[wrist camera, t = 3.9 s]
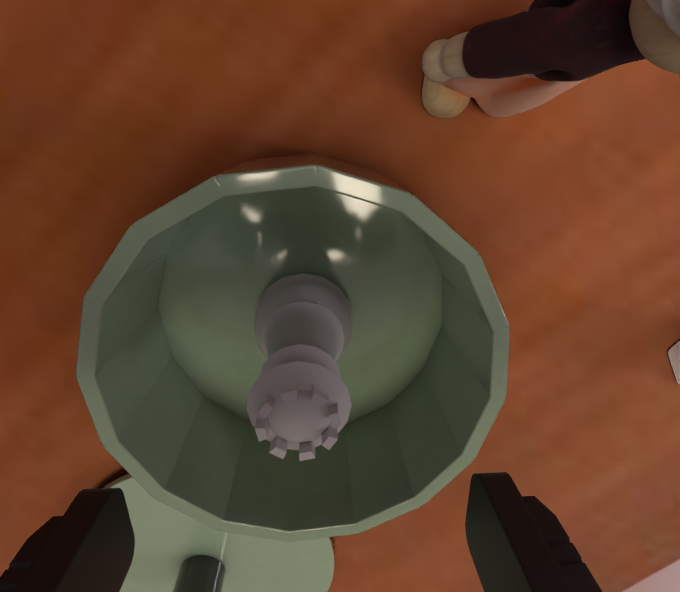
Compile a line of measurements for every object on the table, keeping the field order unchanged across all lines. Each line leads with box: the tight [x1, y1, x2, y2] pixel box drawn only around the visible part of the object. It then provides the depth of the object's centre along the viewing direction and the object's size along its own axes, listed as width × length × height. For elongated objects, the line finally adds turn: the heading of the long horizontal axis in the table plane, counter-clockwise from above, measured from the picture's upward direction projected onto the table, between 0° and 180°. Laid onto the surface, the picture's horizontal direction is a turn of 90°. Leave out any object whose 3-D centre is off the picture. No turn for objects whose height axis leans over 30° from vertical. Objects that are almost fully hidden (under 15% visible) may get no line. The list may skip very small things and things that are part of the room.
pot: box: [76, 153, 510, 542], centre depth 17 cm, size 14×14×6 cm
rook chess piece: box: [246, 273, 353, 461], centre depth 16 cm, size 4×4×8 cm
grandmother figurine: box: [421, 0, 680, 118], centre depth 11 cm, size 8×4×13 cm, turn 116°
